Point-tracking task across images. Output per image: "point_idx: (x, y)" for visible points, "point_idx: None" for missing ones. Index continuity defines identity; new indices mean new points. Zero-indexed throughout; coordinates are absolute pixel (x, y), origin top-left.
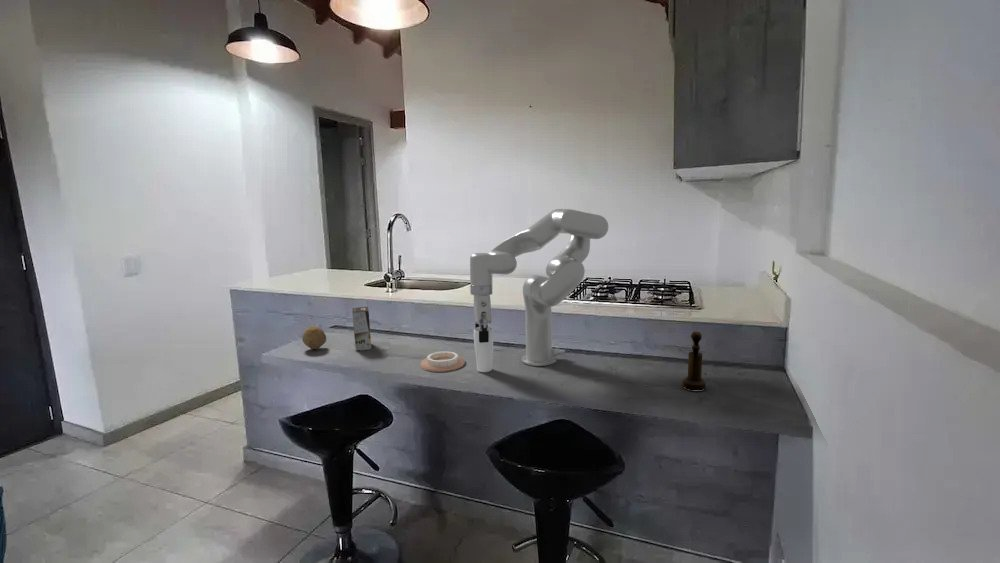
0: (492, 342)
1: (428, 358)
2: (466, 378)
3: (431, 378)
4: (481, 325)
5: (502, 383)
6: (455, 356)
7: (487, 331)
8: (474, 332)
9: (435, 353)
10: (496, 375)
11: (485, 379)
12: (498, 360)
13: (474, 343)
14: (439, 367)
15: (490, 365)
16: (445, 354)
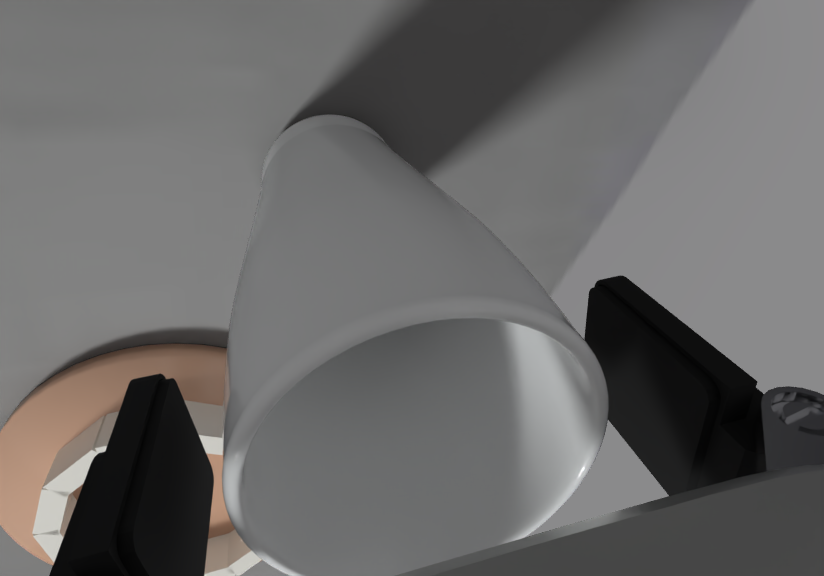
0: (444, 198)
1: (229, 573)
2: None
3: None
4: (161, 552)
5: (637, 31)
6: None
7: (737, 388)
8: (471, 531)
9: None
10: (463, 74)
11: (524, 166)
12: (6, 25)
13: (407, 408)
14: None
15: (382, 140)
16: (67, 512)
